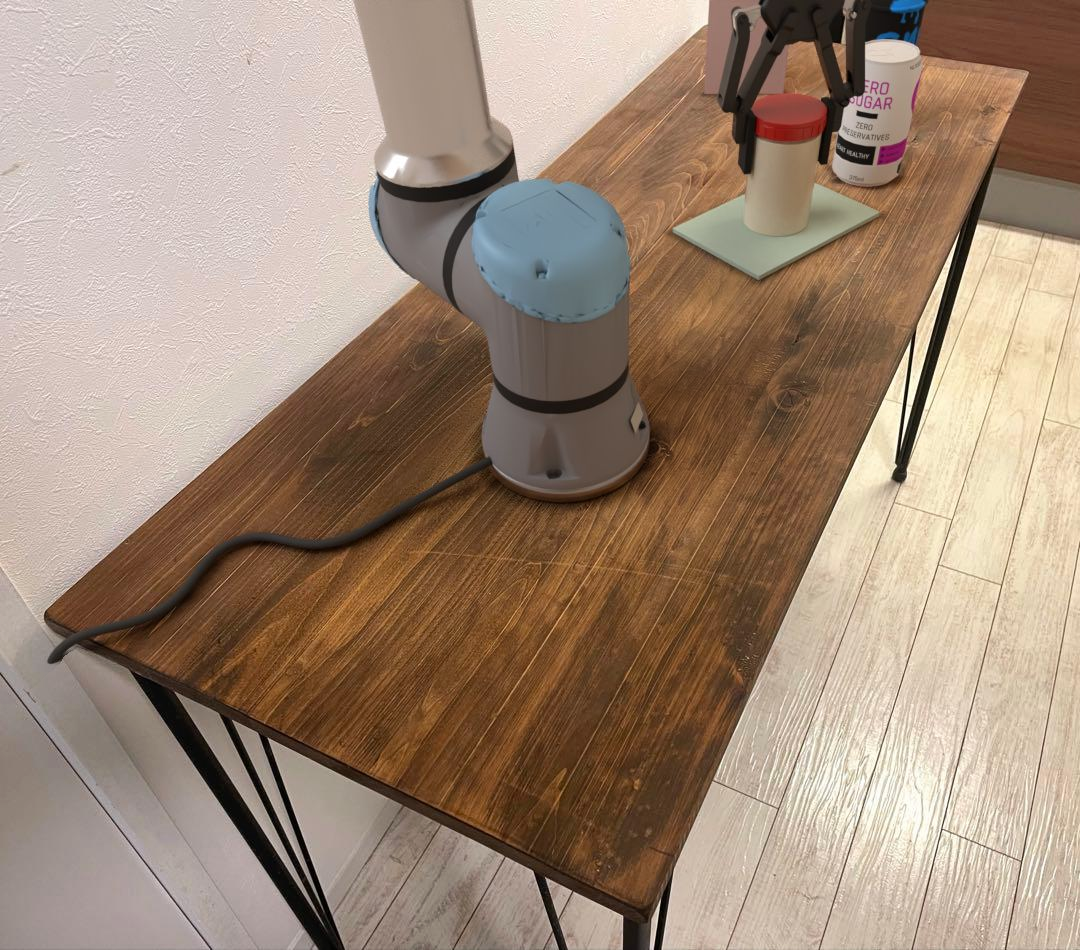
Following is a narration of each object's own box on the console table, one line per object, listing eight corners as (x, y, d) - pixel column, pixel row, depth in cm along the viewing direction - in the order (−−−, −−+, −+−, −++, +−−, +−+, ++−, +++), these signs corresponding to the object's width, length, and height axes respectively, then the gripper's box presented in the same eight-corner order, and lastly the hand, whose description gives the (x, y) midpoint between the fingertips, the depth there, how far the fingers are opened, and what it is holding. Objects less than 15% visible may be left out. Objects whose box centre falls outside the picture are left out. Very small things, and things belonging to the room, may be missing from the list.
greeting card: (786, 91, 134) (799, -20, 124) (757, 109, 131) (767, -4, 120) (722, 74, 140) (730, -34, 130) (692, 90, 137) (697, -19, 126)
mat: (758, 280, 100) (759, 276, 100) (672, 232, 109) (672, 227, 108) (879, 216, 108) (880, 211, 108) (790, 175, 116) (790, 171, 116)
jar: (776, 243, 104) (789, 137, 96) (729, 219, 109) (737, 115, 100) (822, 220, 107) (839, 115, 98) (774, 197, 112) (786, 95, 103)
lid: (811, 106, 103) (814, 89, 102) (835, 137, 97) (838, 119, 96) (740, 114, 103) (742, 97, 101) (760, 146, 97) (762, 128, 96)
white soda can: (892, 157, 118) (918, 35, 107) (904, 188, 112) (932, 63, 102) (827, 158, 119) (846, 38, 108) (835, 190, 113) (856, 66, 102)
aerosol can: (827, 118, 127) (851, -41, 113) (875, 104, 129) (904, -54, 115) (866, 140, 122) (896, -24, 108) (915, 125, 124) (951, -38, 110)
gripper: (710, -37, 84) (698, 191, 100) (932, -63, 85) (885, 168, 101) (691, -60, 90) (683, 160, 106) (901, -85, 90) (861, 138, 106)
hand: (782, 163), depth 103 cm, fingers closed on lid, 8 cm apart
